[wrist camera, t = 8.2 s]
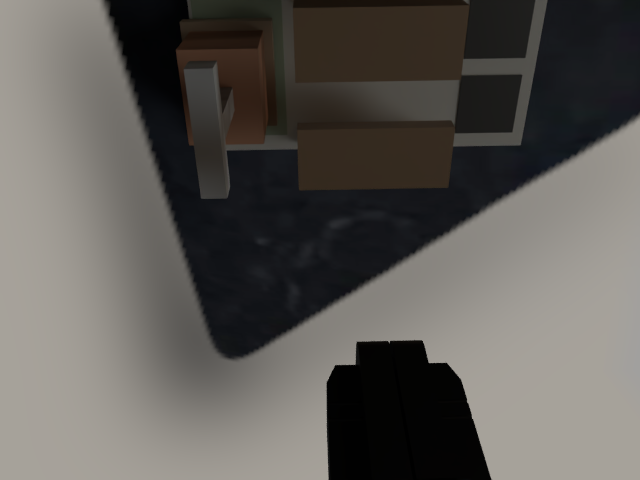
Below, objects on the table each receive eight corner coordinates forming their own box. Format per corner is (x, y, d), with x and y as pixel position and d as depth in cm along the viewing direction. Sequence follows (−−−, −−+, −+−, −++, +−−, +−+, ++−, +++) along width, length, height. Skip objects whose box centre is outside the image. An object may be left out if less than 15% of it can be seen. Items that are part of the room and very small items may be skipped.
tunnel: (189, -25, 33) (158, 0, 26) (542, -31, 33) (604, -7, 26) (209, 141, 38) (187, 198, 31) (513, 136, 38) (557, 191, 31)
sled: (182, 19, 32) (137, 69, 24) (272, 17, 32) (259, 67, 24) (195, 122, 35) (160, 199, 27) (277, 120, 35) (268, 197, 27)
